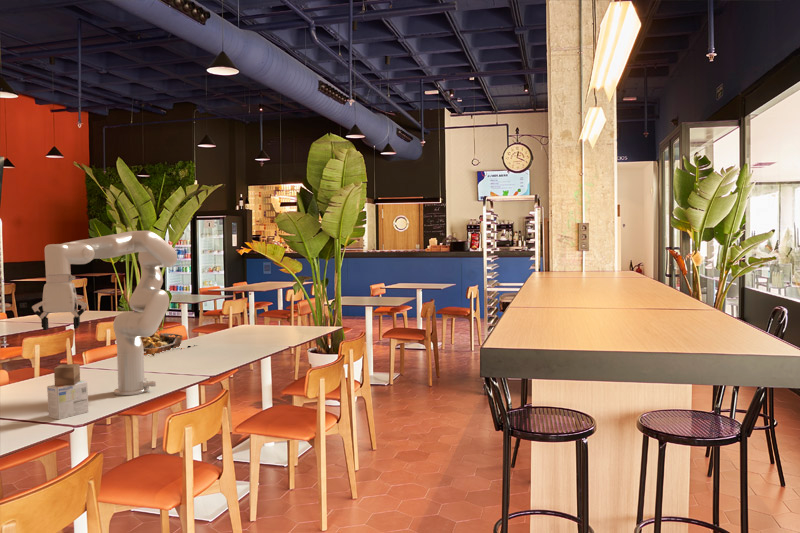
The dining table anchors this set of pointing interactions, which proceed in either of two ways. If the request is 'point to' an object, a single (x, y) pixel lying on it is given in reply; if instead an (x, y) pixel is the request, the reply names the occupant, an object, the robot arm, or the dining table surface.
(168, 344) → the food tray
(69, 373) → the walnut cube
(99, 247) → the robot arm
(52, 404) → the light bulb box
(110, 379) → the dining table surface
